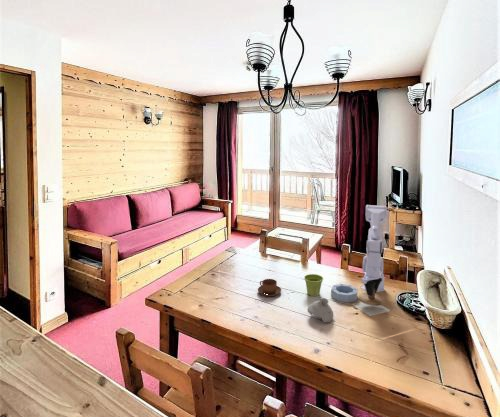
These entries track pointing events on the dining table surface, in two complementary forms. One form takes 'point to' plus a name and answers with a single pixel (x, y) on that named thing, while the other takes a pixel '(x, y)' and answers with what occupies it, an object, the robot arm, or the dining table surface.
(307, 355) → the dining table surface
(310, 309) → the grey clay mound
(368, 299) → the lid
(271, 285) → the cup and saucer
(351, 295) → the bowl
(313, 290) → the plant pot
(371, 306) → the mat
